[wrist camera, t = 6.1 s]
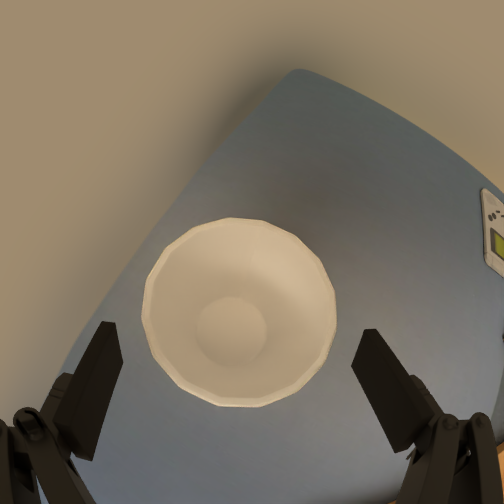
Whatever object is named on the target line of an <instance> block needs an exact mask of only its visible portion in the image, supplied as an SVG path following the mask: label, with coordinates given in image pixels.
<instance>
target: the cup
mask: <svg viewBox="0 0 504 504" xmlns="http://www.w3.org/2000/svg"><path fill="white" fill-rule="evenodd" d="M141 319H142V323H143V326H144V330H145V333H146V337H147V340H148V343H149V347H150V350H151V353H152V356H153V357H154V359H155V360H156V361H157V362H158V363H159V365H160V366H161V367H162V368H163V369H164V371H165V372H166V373H167V374H168V375H169V376H170V377H171V379H172V380H173V381H174V382H175V383H176V384H177V385H178V386H179V388H181V389H183V390H185V391H187V392H189V393H191V394H193V395H195V396H197V397H199V398H202V399H204V400H206V401H208V402H210V403H212V404H215V405H217V406H227V407H262V406H264V405H267V404H269V403H272V402H274V401H277V400H279V399H282V398H284V397H286V396H289V395H291V394H293V393H296V392H298V391H299V390H300V389H301V388H302V387H303V386H304V385H305V384H306V383H307V382H308V381H309V379H310V378H311V377H312V376H313V375H314V374H315V373H316V372H317V371H318V370H319V369H320V368H321V367H322V366H323V364H324V363H325V361H326V358H327V355H328V353H329V350H330V347H331V344H332V342H333V339H334V336H335V333H336V330H337V314H336V297H335V291H334V288H333V286H332V284H331V282H330V280H329V278H328V275H327V273H326V271H325V269H324V267H323V265H322V262H321V260H320V259H319V258H318V257H317V256H316V255H315V254H314V253H313V252H312V251H311V250H310V249H309V248H308V247H307V246H306V245H305V244H304V243H303V242H302V241H301V240H300V239H299V238H298V237H297V236H295V235H294V234H291V233H289V232H287V231H285V230H283V229H281V228H279V227H276V226H274V225H272V224H270V223H268V222H265V221H263V220H252V219H241V218H229V217H228V218H224V219H220V220H217V221H213V222H209V223H206V224H202V225H199V226H195V227H193V228H192V229H190V230H189V231H187V232H186V233H185V234H183V235H182V236H181V237H179V238H178V239H177V240H175V241H174V242H173V243H171V244H170V245H169V246H167V247H166V248H165V249H164V251H163V252H162V254H161V256H160V257H159V259H158V260H157V262H156V264H155V265H154V267H153V269H152V271H151V272H150V274H149V276H148V277H147V279H146V284H145V291H144V298H143V306H142V314H141Z"/></svg>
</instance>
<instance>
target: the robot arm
mask: <svg viewBox="0 0 504 504" xmlns="http://www.w3.org/2000/svg"><path fill="white" fill-rule="evenodd" d="M122 365H123V359H122V354H121V350H120V345H119V340H118V335H117V330H116V324H115V323H113V322H105V321H102V322H101V324H100V325H99V327H98V329H97V331H96V332H95V334H94V336H93V338H92V340H91V342H90V343H89V345H88V347H87V349H86V351H85V353H84V355H83V357H82V358H81V360H80V362H79V364H78V366H77V368H76V370H75V372H74V374H68V373H63V374H62V375H60V376H59V377H58V378H57V379H56V381H55V383H54V384H53V386H52V389H51V390H50V392H49V396H47V398H46V400H45V402H44V404H43V406H42V408H41V410H40V412H38V411H37V410H36V409H34V408H30V407H25V408H22V409H20V410H18V411H17V412H16V414H15V415H14V418H13V424H14V426H15V427H8V426H7V425H6V424H5V422H4V421H3V420H1V419H0V504H41V500H40V495H39V490H38V485H37V479H36V476H37V478H38V481H39V483H40V485H41V488H42V490H43V492H44V494H45V496H46V498H47V501H48V503H49V504H96V502H95V501H94V499H93V498H92V496H91V494H90V493H89V491H88V489H87V488H86V486H85V484H84V482H83V481H82V479H81V477H80V475H79V473H78V472H77V470H76V468H75V466H74V464H73V462H72V460H71V459H70V455H71V452H73V453H74V455H75V456H76V457H78V458H81V459H85V460H88V461H92V460H93V457H94V453H95V449H96V446H97V442H98V439H99V435H100V432H101V428H102V425H103V422H104V419H105V415H106V412H107V409H108V406H109V403H110V400H111V397H112V394H113V391H114V388H115V385H116V382H117V379H118V376H119V373H120V371H121V368H122ZM351 367H352V369H353V371H354V373H355V375H356V377H357V379H358V381H359V383H360V384H361V386H362V388H363V390H364V392H365V394H366V396H367V398H368V400H369V402H370V404H371V406H372V408H373V410H374V412H375V414H376V416H377V418H378V420H379V422H380V424H381V426H382V428H383V430H384V432H385V434H386V436H387V438H388V440H389V442H390V444H391V446H392V449H393V451H394V453H398V452H401V451H404V450H407V449H408V448H409V447H410V446H411V445H412V443H413V442H414V444H415V446H416V447H415V448H414V449H413V451H412V452H411V453H410V454H409V455H408V456H407V458H406V459H407V460H408V459H409V458H410V457H411V459H410V463H409V466H408V469H407V472H406V475H405V478H404V480H403V483H402V486H401V489H400V491H399V494H398V497H397V499H396V502H395V504H504V497H503V487H502V478H501V471H500V464H499V458H498V453H497V448H496V443H495V438H494V434H493V429H492V425H491V421H490V419H489V417H488V416H487V415H485V414H484V413H481V412H477V413H475V414H473V415H472V417H471V418H470V419H469V420H458V419H457V418H456V417H455V416H454V415H451V414H444V412H443V411H442V409H441V408H440V407H439V405H438V404H437V402H436V401H435V399H434V398H433V396H432V395H431V394H430V392H429V391H428V389H426V386H425V385H424V383H423V382H422V381H421V380H420V379H419V378H418V377H416V376H415V375H410V376H409V374H408V373H407V371H406V370H405V369H404V367H403V366H402V364H401V363H400V361H399V360H398V359H397V357H396V356H395V354H394V353H393V352H392V350H391V349H390V347H389V346H388V345H387V343H386V342H385V340H384V339H383V338H382V336H381V335H380V334H379V332H378V331H377V329H364V332H363V335H362V338H361V341H360V343H359V346H358V349H357V352H356V354H355V357H354V360H353V362H352V365H351ZM469 451H470V453H471V455H470V454H469Z"/></svg>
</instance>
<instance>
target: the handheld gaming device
mask: <svg viewBox="0 0 504 504" xmlns="http://www.w3.org/2000/svg"><path fill="white" fill-rule="evenodd" d="M481 203H482V214H483V228H484V253H485V254H484V258H485V262H486V263H487V265H489V266H490V267H491V268H492V269H494V270H495V271H496V272H497V273H499V274H500V275H501V276H502V277H503V278H504V204H503V203H502V202H501V201H499V200H498V199H497V198H496V197H495V196H494V195H493V194H492V193H490V192H489V191H488V190H487V189H483V190H482V191H481Z"/></svg>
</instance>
